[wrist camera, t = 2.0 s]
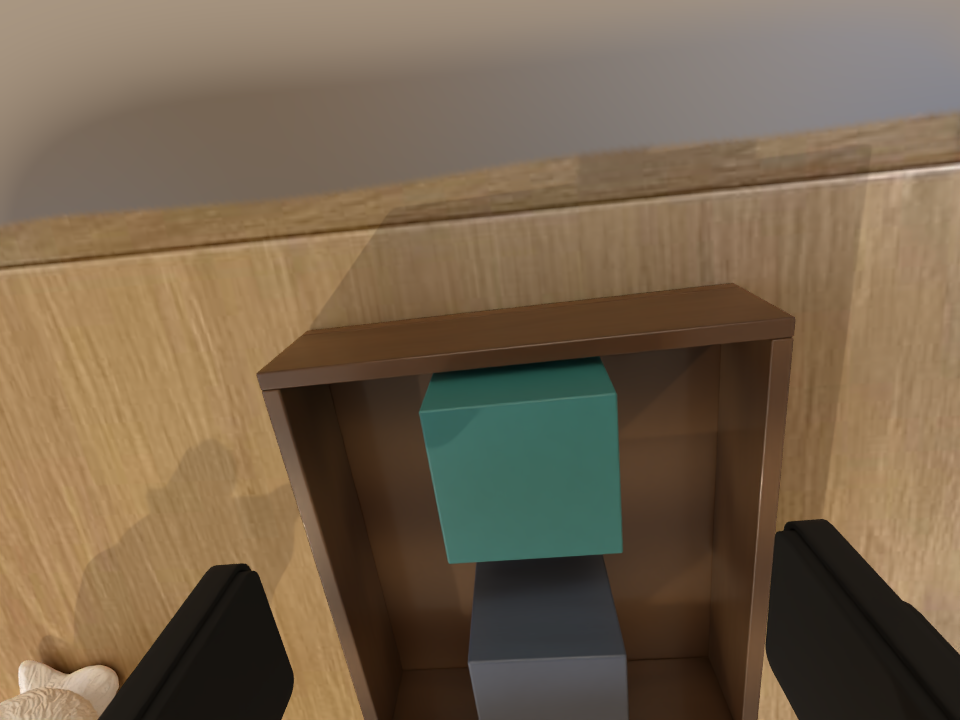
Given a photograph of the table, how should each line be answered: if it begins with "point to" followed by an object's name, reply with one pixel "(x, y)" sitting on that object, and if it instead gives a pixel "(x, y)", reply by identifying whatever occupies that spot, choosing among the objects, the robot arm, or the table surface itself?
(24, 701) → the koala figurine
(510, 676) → the slate block
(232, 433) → the table surface
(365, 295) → the table surface
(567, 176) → the table surface
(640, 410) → the box
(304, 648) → the table surface
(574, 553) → the teal block
